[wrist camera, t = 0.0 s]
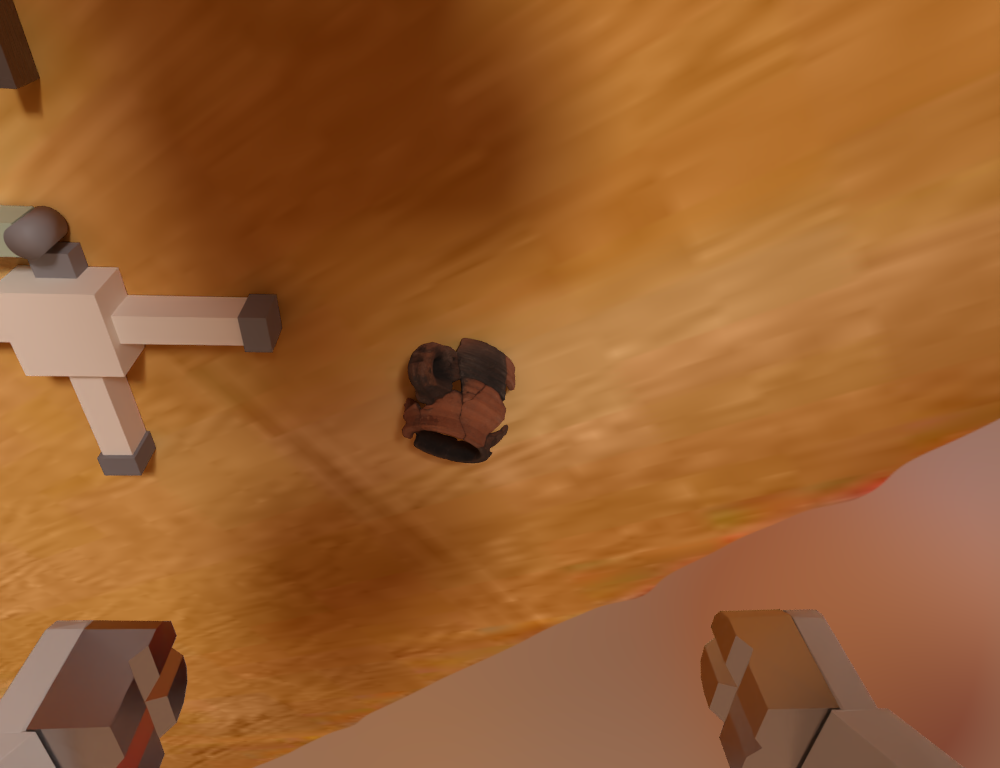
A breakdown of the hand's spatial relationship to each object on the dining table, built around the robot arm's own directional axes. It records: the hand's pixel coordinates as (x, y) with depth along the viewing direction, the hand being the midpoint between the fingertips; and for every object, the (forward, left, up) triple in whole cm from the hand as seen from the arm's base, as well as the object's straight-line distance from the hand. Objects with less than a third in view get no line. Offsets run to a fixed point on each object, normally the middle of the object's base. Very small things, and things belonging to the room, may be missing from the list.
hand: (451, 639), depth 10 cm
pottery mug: (+24, 0, -39) cm, 46 cm away
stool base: (+22, -28, -39) cm, 53 cm away
